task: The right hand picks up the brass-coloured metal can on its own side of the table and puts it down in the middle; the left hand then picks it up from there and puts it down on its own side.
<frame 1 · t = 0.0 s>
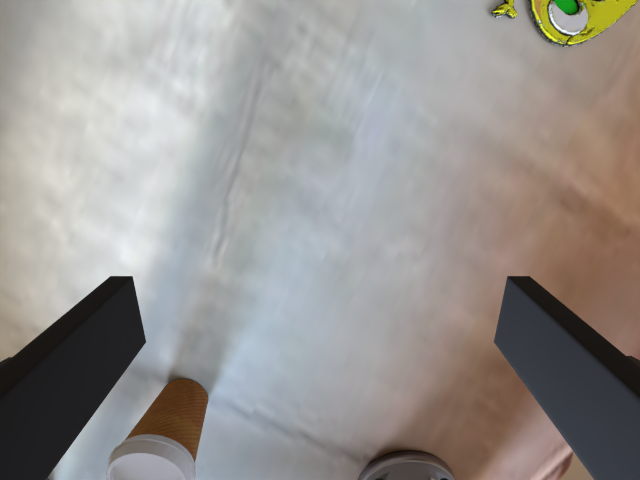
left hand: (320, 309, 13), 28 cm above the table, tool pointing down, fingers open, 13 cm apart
disposable coffee cup: (186, 395, 50), on the table
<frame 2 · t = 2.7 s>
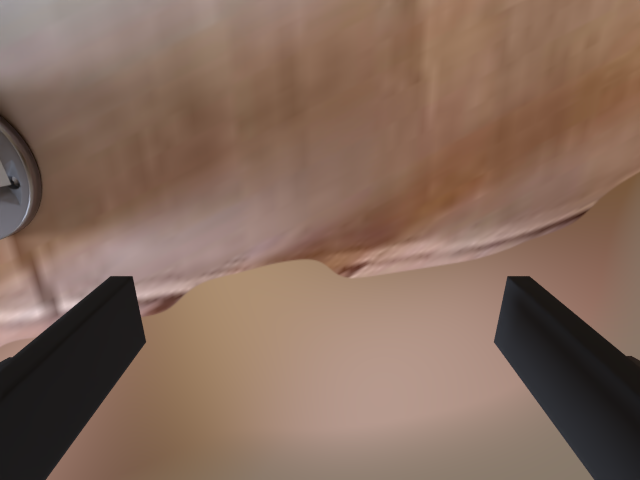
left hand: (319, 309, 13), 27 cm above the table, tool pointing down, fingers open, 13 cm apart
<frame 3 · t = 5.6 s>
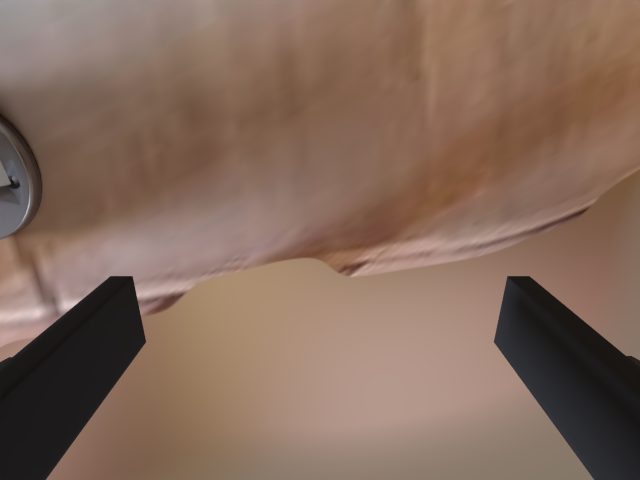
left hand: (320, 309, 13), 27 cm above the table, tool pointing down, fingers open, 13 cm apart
when the right hand's fingers open (4 cm above the table, at t = 8.7 s): can drops 2 cm, on the table.
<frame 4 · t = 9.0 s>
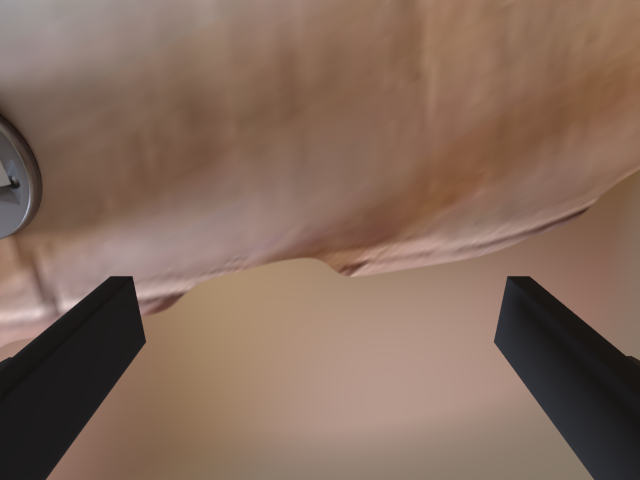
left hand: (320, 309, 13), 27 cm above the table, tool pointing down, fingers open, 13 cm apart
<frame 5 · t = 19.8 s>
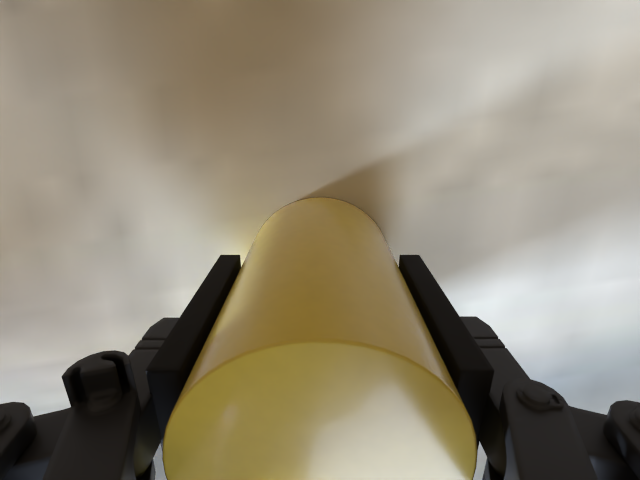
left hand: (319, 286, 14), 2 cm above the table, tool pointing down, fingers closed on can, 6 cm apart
can: (319, 263, 16), on the table, touching left hand
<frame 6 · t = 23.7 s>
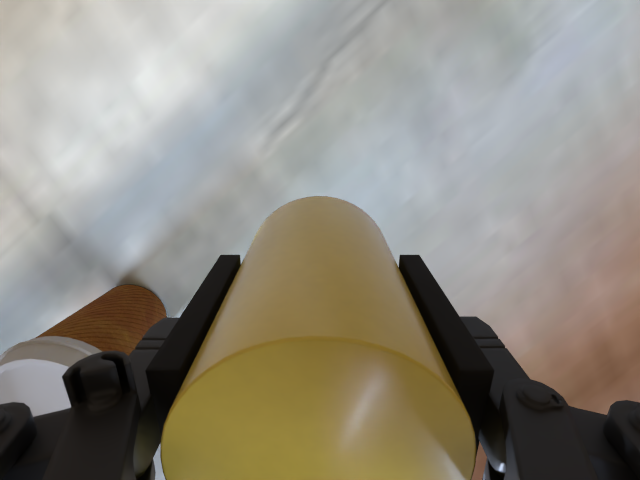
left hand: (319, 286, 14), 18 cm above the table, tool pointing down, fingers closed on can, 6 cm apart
can: (319, 262, 16), point 16 cm above the table, touching left hand
disposable coffee cup: (135, 311, 36), on the table
when the left hand's fingers open (4 cm above the table, at t = 27.8 s): can drops 2 cm, on the table.
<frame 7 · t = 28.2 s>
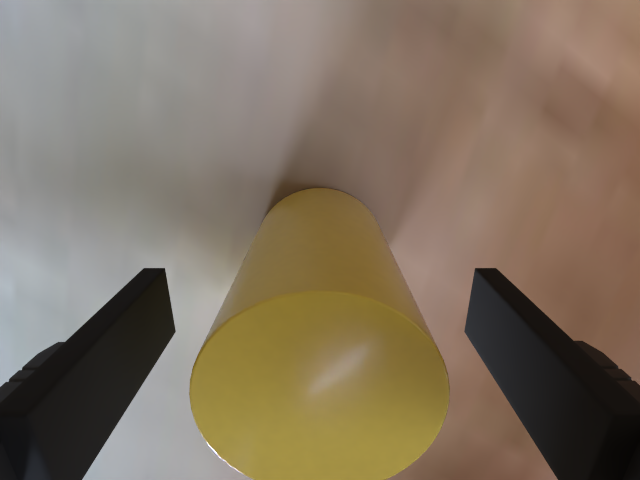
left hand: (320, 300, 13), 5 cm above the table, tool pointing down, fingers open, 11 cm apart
can: (319, 249, 18), on the table
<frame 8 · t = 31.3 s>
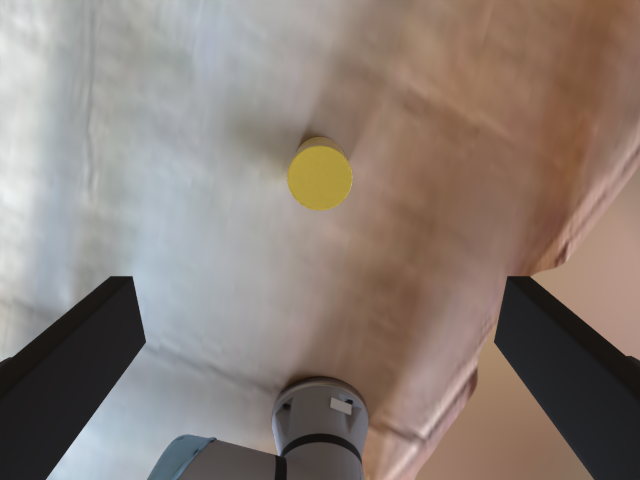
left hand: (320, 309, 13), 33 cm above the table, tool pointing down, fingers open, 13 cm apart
can: (319, 163, 44), on the table
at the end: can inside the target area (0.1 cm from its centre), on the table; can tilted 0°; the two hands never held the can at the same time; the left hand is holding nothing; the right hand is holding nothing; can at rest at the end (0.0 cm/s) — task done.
